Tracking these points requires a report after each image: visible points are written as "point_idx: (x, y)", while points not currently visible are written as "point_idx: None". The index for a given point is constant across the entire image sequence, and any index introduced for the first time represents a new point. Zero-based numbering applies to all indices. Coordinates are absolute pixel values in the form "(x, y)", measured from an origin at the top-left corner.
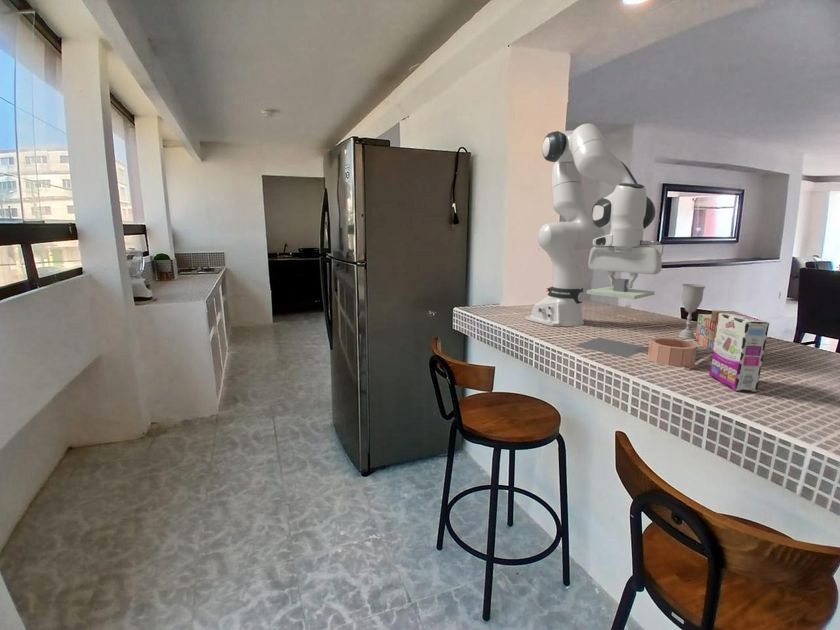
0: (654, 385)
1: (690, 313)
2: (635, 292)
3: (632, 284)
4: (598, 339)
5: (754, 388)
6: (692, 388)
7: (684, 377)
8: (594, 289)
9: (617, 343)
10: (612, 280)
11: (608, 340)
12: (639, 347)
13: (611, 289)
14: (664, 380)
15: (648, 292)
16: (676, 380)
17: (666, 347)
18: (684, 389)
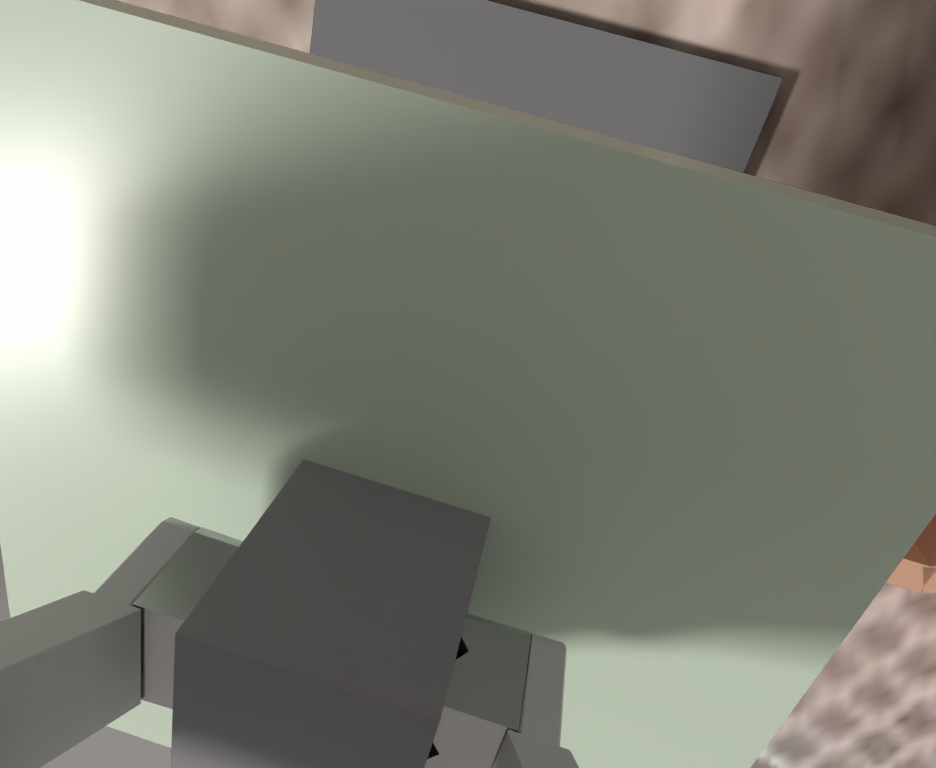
0: (761, 757)
1: None
2: (639, 640)
3: (560, 705)
4: (340, 50)
5: None
6: (928, 742)
7: (928, 625)
8: (31, 585)
9: (509, 102)
10: (134, 702)
11: (420, 30)
12: (695, 132)
13: (200, 458)
14: (813, 694)
15: (891, 542)
16: (873, 677)
17: (888, 579)
18: (886, 760)
